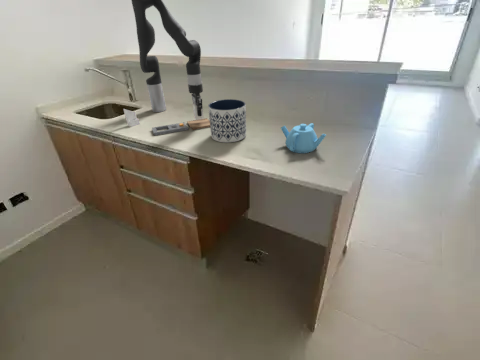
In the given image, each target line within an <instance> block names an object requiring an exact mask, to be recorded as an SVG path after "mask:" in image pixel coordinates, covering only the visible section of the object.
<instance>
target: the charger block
mask: <svg viewBox="0 0 480 360" xmlns="http://www.w3.org/2000/svg"><path fill="white" fill-rule="evenodd" d="M199 107H200V106H199ZM203 108H204V107H203V105H202V109H201V112H202V116H198V114H197V107H196V105H195V104H193V103H192V109H193V117H194V120H199V119H205V117H204V109H203Z"/></svg>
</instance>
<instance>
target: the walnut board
mask: <svg viewBox="0 0 480 360" xmlns="http://www.w3.org/2000/svg"><path fill="white" fill-rule="evenodd" d="M186 122H187V124H186V125H187V126H189V128H190V129H191V131H194V130H200V129H207V128H210V119H208V117H207V118H205V117H204V119H199V120H196V119H194V120H188V121H186Z"/></svg>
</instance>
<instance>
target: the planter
mask: <svg viewBox="0 0 480 360" xmlns="http://www.w3.org/2000/svg"><path fill="white" fill-rule="evenodd" d="M246 104H247V103H246V102H245V101H243V100H242V99H241V100H239V99H233V98H232V99H231V98H230V99H218V100H215V101H212V102H210V103H209V104H208V106H207V107H208V115H209V116H208V117H209V119H208V120H209V121H210V127H209V128H210V137H211V138H212V140H213V141H216V142H219V143H235V142H239V141H241V140H244V139H245V137H246V136H247V107H246V106H247V105H246Z"/></svg>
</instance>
